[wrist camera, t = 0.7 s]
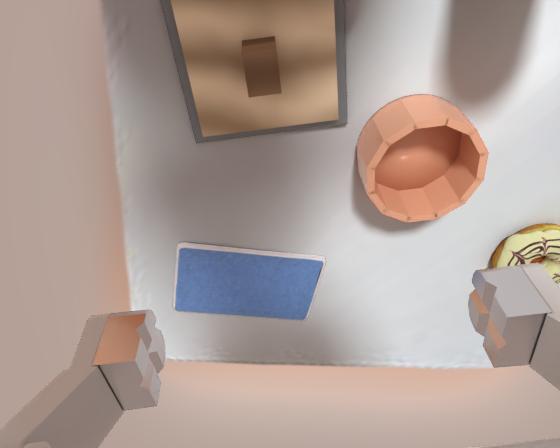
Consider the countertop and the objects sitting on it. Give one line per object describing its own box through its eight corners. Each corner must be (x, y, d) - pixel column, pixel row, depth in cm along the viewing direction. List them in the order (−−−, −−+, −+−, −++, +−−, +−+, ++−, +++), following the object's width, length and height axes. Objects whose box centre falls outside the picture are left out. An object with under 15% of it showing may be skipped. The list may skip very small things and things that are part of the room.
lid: (169, -14, 40) (161, -2, 37) (331, -36, 40) (339, -26, 37) (203, 133, 49) (200, 153, 46) (337, 116, 49) (344, 135, 45)
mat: (155, -26, 40) (154, -25, 40) (341, -52, 40) (342, -51, 39) (196, 140, 50) (196, 143, 50) (346, 121, 50) (347, 123, 49)
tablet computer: (327, 253, 62) (328, 259, 61) (306, 316, 69) (307, 323, 68) (177, 237, 59) (176, 244, 58) (172, 305, 66) (171, 312, 65)
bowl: (355, 102, 48) (366, 127, 44) (472, 87, 48) (496, 111, 44) (357, 197, 56) (366, 227, 51) (458, 184, 55) (477, 214, 51)
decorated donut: (490, 226, 60) (503, 245, 57) (577, 209, 59) (594, 227, 56) (487, 283, 66) (498, 303, 63) (565, 268, 65) (581, 287, 62)
